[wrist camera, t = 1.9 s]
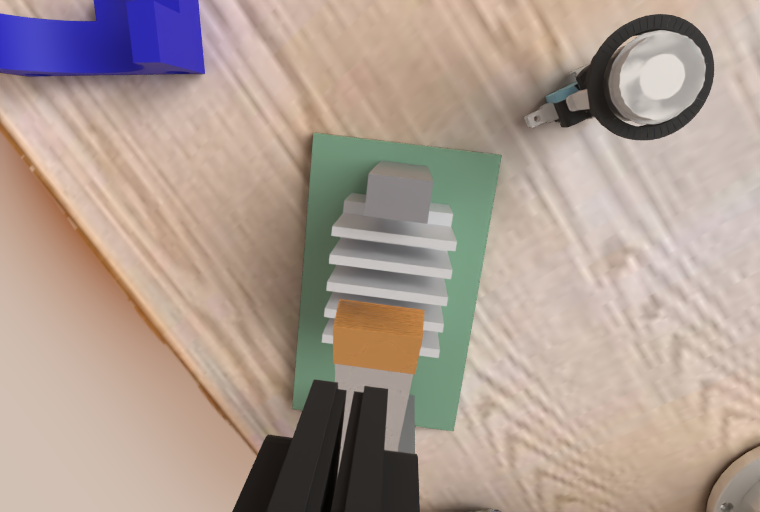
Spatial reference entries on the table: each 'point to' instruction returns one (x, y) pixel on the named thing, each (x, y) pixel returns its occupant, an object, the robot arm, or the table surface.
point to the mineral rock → (486, 510)
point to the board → (396, 258)
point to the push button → (638, 81)
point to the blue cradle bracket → (107, 41)
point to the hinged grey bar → (377, 357)
